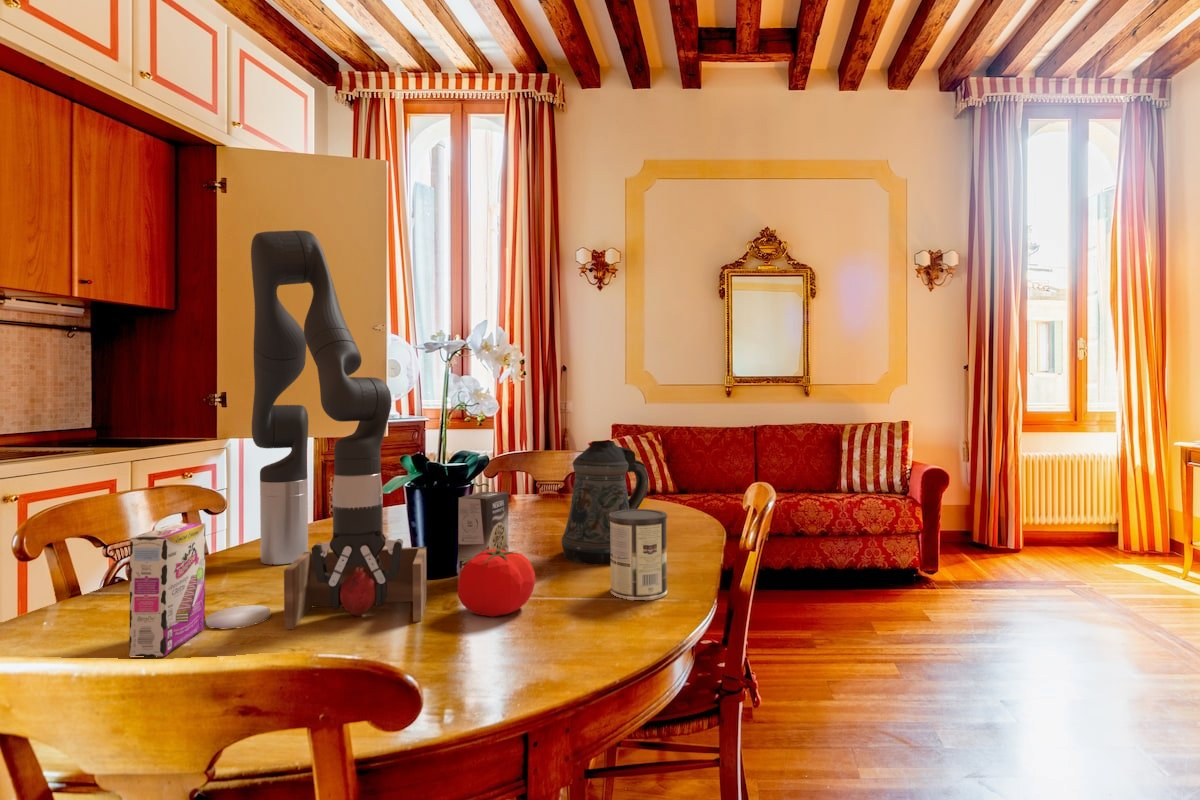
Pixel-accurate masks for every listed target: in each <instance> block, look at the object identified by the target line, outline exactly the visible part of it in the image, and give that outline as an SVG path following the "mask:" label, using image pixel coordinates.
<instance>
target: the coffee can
mask: <svg viewBox="0 0 1200 800" xmlns="http://www.w3.org/2000/svg"><path fill="white" fill-rule="evenodd" d="M609 517H610V548H611V564H610V591H609V593H610V594H611V595H612V594H613V595H614V596H613V595H612V596H613V597H615V596H616V598H617V597H619V598H618V599H621V598H623V599H622V600H626V599H627V600H628V601H634V600H645V601H653V600H657V599H661V598H663V597H665V596H667V594H668V584H667V583H668V581H667V580H668V578H667V577H668V576H667V575H668V574H667V573H668V571H667V568H668V567H667V566H668V564H667V562H668V560H667V519H668V513H666V512H664V511H661V510H656V509H648V508H638V509H627V510H619V511H614V512H612V513H610V514H609Z"/></svg>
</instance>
